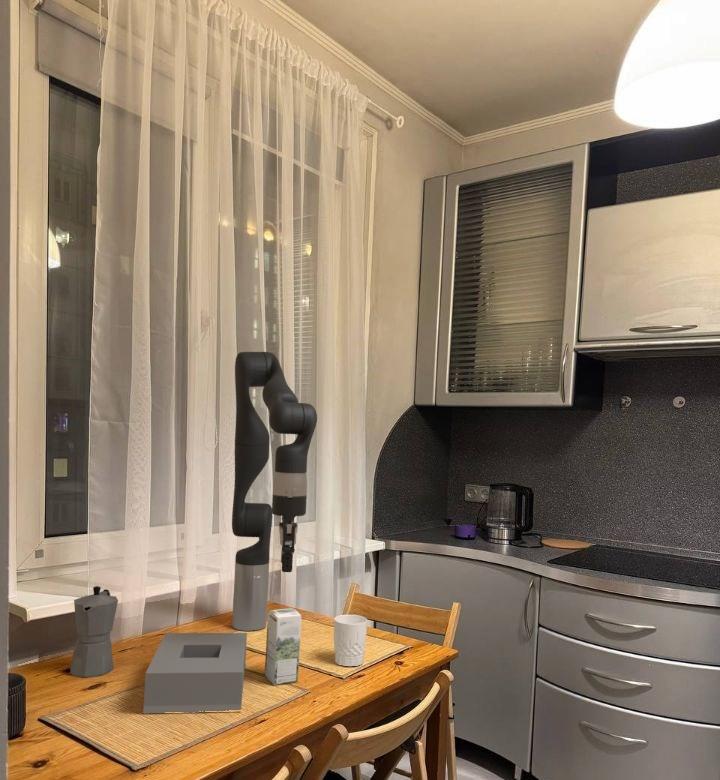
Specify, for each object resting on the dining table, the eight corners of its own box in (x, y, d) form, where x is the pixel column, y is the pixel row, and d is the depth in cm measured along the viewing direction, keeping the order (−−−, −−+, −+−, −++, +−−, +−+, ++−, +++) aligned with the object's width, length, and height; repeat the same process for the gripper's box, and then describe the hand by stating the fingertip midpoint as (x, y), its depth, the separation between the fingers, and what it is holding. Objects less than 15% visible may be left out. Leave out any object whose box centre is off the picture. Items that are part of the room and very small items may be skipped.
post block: (163, 667, 146) (165, 633, 146) (245, 666, 148) (246, 632, 149) (143, 714, 122) (145, 673, 123) (240, 712, 125) (242, 672, 125)
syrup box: (288, 673, 145) (291, 606, 146) (298, 682, 140) (302, 613, 141) (264, 676, 143) (267, 609, 144) (273, 686, 138) (277, 616, 138)
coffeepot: (104, 681, 137) (110, 594, 138) (58, 681, 136) (63, 593, 137) (124, 656, 152) (129, 577, 153) (83, 655, 151) (88, 576, 152)
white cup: (339, 670, 148) (341, 625, 149) (327, 658, 156) (329, 615, 156) (371, 666, 152) (373, 622, 152) (357, 655, 159) (359, 613, 159)
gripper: (272, 489, 150) (269, 560, 149) (272, 495, 136) (269, 574, 135) (305, 490, 152) (301, 561, 150) (308, 496, 137) (305, 575, 136)
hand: (286, 567), depth 143 cm, fingers open, 8 cm apart
